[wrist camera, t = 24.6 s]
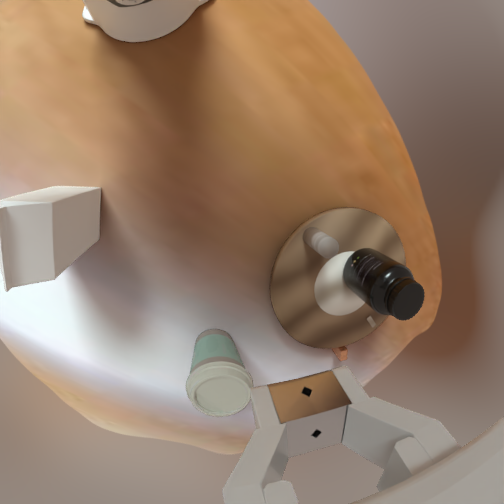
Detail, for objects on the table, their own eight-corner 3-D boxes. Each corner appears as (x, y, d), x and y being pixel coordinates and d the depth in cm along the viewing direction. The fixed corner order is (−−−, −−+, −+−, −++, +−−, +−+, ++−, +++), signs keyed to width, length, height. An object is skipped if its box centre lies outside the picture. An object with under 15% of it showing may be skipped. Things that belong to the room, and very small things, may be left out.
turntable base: (277, 226, 42) (284, 232, 38) (387, 213, 44) (400, 218, 41) (285, 360, 48) (291, 373, 45) (379, 336, 51) (389, 346, 48)
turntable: (237, 277, 41) (246, 301, 34) (359, 175, 40) (389, 180, 33) (320, 365, 48) (337, 393, 41) (416, 281, 47) (444, 299, 40)
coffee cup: (180, 325, 44) (177, 377, 32) (237, 316, 45) (251, 365, 33) (193, 369, 46) (194, 423, 35) (245, 361, 47) (259, 413, 36)
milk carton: (101, 187, 36) (30, 210, 18) (100, 239, 38) (37, 297, 20) (56, 185, 35) (-29, 208, 17) (56, 235, 37) (-21, 286, 19)
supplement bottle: (388, 262, 43) (439, 292, 32) (362, 298, 44) (406, 337, 33) (360, 236, 41) (412, 263, 30) (332, 275, 42) (375, 314, 31)
